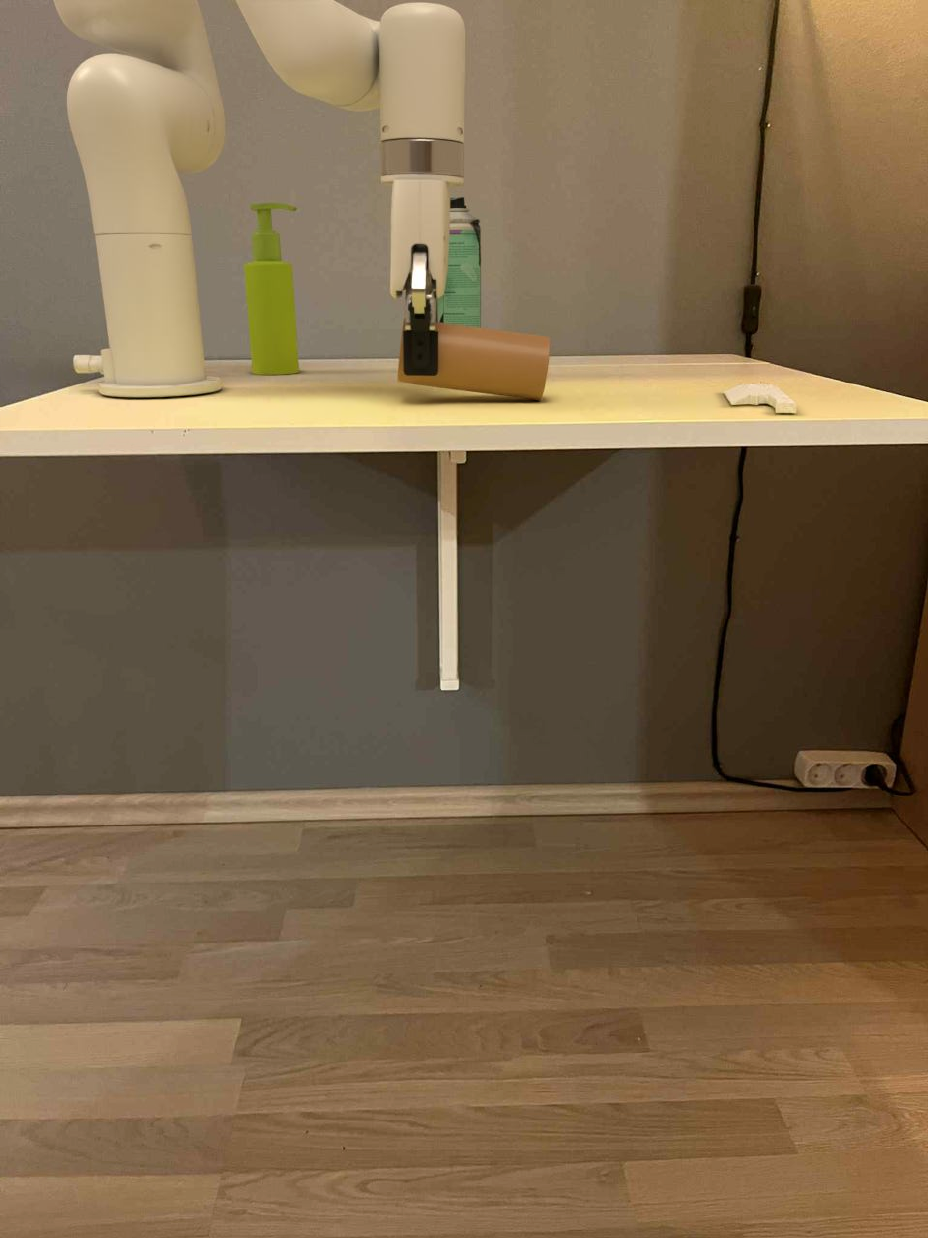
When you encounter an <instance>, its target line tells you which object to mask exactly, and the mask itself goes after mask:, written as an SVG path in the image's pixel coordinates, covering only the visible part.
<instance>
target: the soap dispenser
mask: <svg viewBox="0 0 928 1238" xmlns="http://www.w3.org/2000/svg"><path fill="white" fill-rule="evenodd" d="M250 210H251V211H253V212H255V211H256V218H257V219H256V220H257V230H255V231H254V232H253V233H252V232H251V242H252V243H251V244H252V255H253V261H251V262H247V263H244V264H243V271H244V272H243V273H244V285H245V297H246V309H247V320H248V332H249V333H248V334H249V345H250V356H251V367H252V368H251V369H252V370H251V371H252V374H253V375H259V376H260V375H261V376H282V375H294V374H298V373H300V365H299V364H300V363H299V349H298V347H299V346H298V335H297V319H296V303H295V290H294V273H293V263H290V262H288V261H287V262H286V261H282V248H281V236H280V235H281V234H280V233H279V232H277V231H276V230H273V220H272V211H273V210H285V211H286V210H287V211H290V212H296V211H297V210H298V207H296V206H293V205H290V204H287V203H282V202H281V203H280V202H261V203H253V204H250Z"/></svg>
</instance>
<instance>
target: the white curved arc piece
mask: <svg viewBox="0 0 928 1238" xmlns="http://www.w3.org/2000/svg"><path fill="white" fill-rule="evenodd" d="M723 394H724V396H725V398H726V400H727V401H728V402H729V404H730V405H731V406H736V405H753V406H759V404H767V405H769V406H771V407H773V408H774V410H775V414H796V413H797V403H796V402H795V401H794V400H793V399H791V398H790V397H789V396H788V394H786V393H785V392H784V391H783V390H782V389H781V388H779V387H778V386H777V385H776V384H773V383H772V384H771V383H762V382H759V383H752V384H751V383H740V384H738V385H736V386H733V387H730V388H728V389H726V390H723Z"/></svg>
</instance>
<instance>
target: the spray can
mask: <svg viewBox="0 0 928 1238" xmlns="http://www.w3.org/2000/svg"><path fill="white" fill-rule="evenodd" d="M480 223H481V219H479V218H477V217H476V216H475V215H473V214H472V213H471V212H470V208H467V205H465V197H464V196H461V197H460V196H459V197H450V231H449V255H448V268H447V277H446V285H445V291H444V295H442V296H441V297H440V298H438V322H440V323H448V324H455V325H463V326H470V327H478V328H482V227H481V225H480Z"/></svg>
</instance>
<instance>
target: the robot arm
mask: <svg viewBox="0 0 928 1238" xmlns="http://www.w3.org/2000/svg"><path fill="white" fill-rule="evenodd" d="M52 1H53V3H54V7H55V9H56V12H57V14H58V16H59V18H60V20H61V22H62V23H63V25H64V27H66V28H67V29H68V30H69V31H70V32H71V33H73V34H74V35H75V36H76V37H78V38H80V39H82V40H84V41H87V42H90V43H92V44H94V45H97V46H100V47H103V48H106V49H109V50H112V51H114V52H117V53H102V54H97V55H93V56H91V57H89V58H87V59H86V60H85V61H83V62H81V63H80V65H79V66H78V67H77V68H76V69H75V71H74V72H73V74H72V75H71V79H70V81H69V83H68V88H67V92H66V110H67V118H68V122H69V127H70V132H71V134H72V138H73V141H74V144H75V147H76V150H77V154H78V157H79V160H80V163H81V164H80V165H81V166H82V171H83V175H84V179H85V184H86V188H87V189H86V190H87V195H88V199H89V206H90V213H91V220H92V228H93V234H94V238H95V245H96V254H97V261H98V268H99V277H100V284H101V285H100V286H101V292H102V301H103V308H104V313H105V314H104V315H105V324H106V330H107V339H108V347H109V348H104V349H101V350H100V355H93V354H75V355H74V356H73V359H72V364H73V365H72V366H73V369H74V371H75V373H76V374H95V373H100V375H103V380H102V381H101V382H99V383H98V391H99V393H100V394H101V395H104V396H107V397H116V398H164V397H183V396H193V395H194V396H195V395H201V394H202V395H203V394H208V393H213V392H217V391H220V390H221V389H222V388H223V386H222V379H221V378H220V377H218V376H214V375H213V376H212V375H207V372H206V362H205V361H206V360H205V353H204V352H205V351H204V343H203V341H204V340H203V332H202V322H201V311H200V300H199V290H198V281H197V280H198V279H197V272H196V260H195V250H194V241H193V240H194V239H193V233H192V222H191V215H190V209H189V204H188V199H187V196H186V193H185V190H184V187H183V185H182V181H181V179H180V176H179V174H196V173H201V172H203V171H205V170H207V169H209V168H210V167H211V166H212V165H213V164H215V162H216V161H217V160H218V158H219V157H220V155H221V153H222V151H223V148H224V145H225V140H226V133H227V127H226V126H227V125H226V124H227V123H226V114H225V107H224V103H223V97H222V94H221V93H222V92H221V89H220V85H219V81H218V76H217V72H216V67H215V64H214V59H213V55H212V50H211V46H210V42H209V38H208V33H207V29H206V26H205V21H204V17H203V14H202V10H201V8H200V4H199V1H198V0H52ZM235 2H236V4H237V6H238V9H239V10H240V12H241V14H242V16H243V18H244V20H245V22H246V25H247V26H248V28H249V29H250V32H251V33H252V35H253V37H254V39H255V41H256V43H257V44H258V46H259V49H260V50H261V52H262V54H263V56H264V57H265V59H266V60H267V62H268V64H269V65H270V67H271V68H272V69H273V71H274V72H275V74H276V75H277V76H278V77H279V78H280V79H281V80H282V82H284V83H285V84H286V85H287V86H288V87H289V88H291V89H292V90H293V91H295V92H297V93H299V94H301V95H304V96H306V97H309V98H313V99H315V100H318V101H321V102H324V103H326V104H329V105H331V106H334V107H337V108H340V109H342V110H345V111H348V112H349V111H350V112H358V113H359V112H369V111H375V110H378V109H379V130H380V131H379V133H380V136H379V137H380V140H379V141H380V143H379V144H380V146H379V148H380V151H379V152H380V184H381V185H386V186H392V187H391V197H390V263H389V264H390V268H389V269H390V270H389V272H390V275H389V284H390V285H389V294H390V296H391V297H392V298H394V299H400V298H401V297H402V296H403V293H404V292H403V291H405V297H404V299H405V309H404V310H405V314H404V316H405V317H404V318H405V330H406V331H403V361H404V374H405V375H407V376H436V375H437V373H438V331H435V324H436V322H438V298H440V297H441V296H442V295H444V291H445V285H446V277H447V268H448V255H449V231H450V198H451V188H454V187H456V188H457V187H460V186H464V183H465V181H464V180H465V179H464V177H465V176H464V175H465V167H464V166H465V105H466V104H465V101H466V99H465V98H466V97H465V96H466V95H465V94H466V91H465V89H466V26H465V22H464V19H463V18H462V16H461V14H460V13H459V12H458V11H457V10H455V8H452V7H449V6H448V5H444V4H440V3H434V2H433V3H432V2H420V1H419V2H403V3H400V4H396V5H393V6H392V7H389V8H388V9H387V10H385V11H384V12H383V14H382V16H381V18H380V21H379V20H374V19H371V18H369V17H366V16H364V15H362V14H360V13H359V14H358V13H357V12H355V11H353V10H352V9H350V8H348V7H347V6H345V5H344V4H341V3H339V2H338V1H336V0H235ZM402 298H403V297H402ZM429 321H430V322H429ZM411 330H412V331H411Z"/></svg>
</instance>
